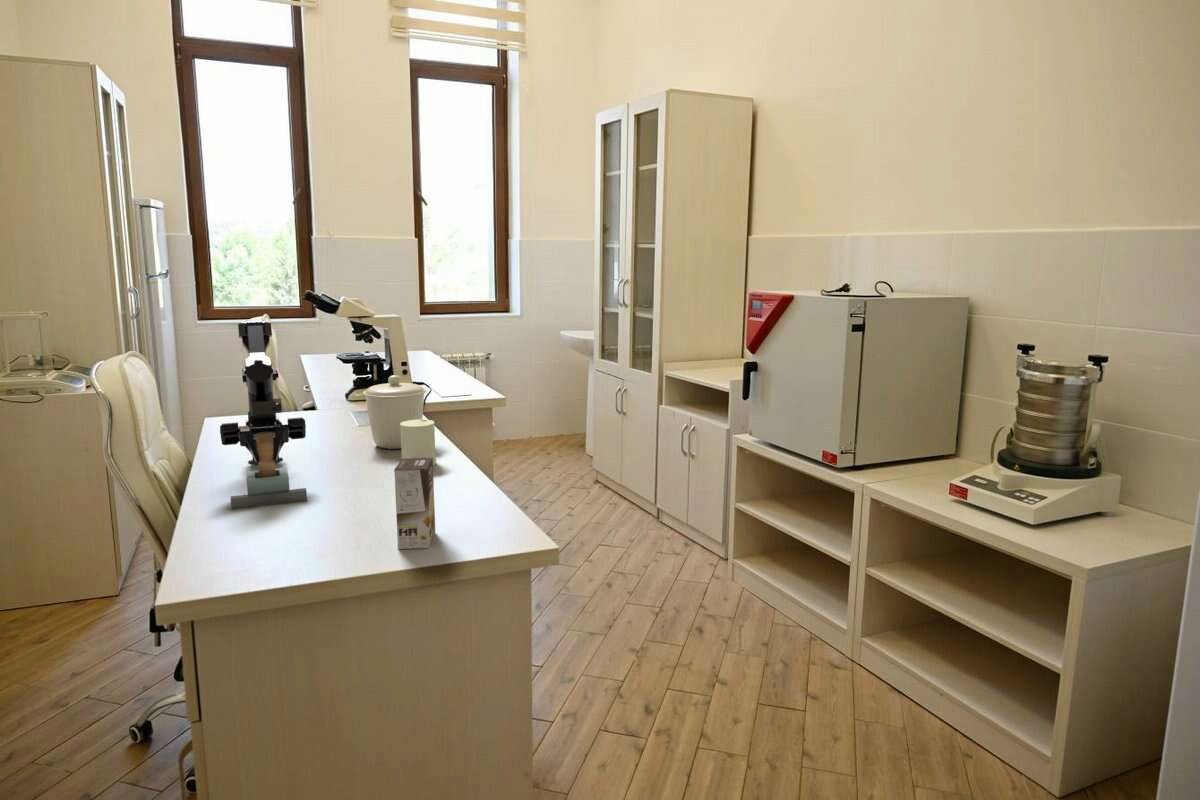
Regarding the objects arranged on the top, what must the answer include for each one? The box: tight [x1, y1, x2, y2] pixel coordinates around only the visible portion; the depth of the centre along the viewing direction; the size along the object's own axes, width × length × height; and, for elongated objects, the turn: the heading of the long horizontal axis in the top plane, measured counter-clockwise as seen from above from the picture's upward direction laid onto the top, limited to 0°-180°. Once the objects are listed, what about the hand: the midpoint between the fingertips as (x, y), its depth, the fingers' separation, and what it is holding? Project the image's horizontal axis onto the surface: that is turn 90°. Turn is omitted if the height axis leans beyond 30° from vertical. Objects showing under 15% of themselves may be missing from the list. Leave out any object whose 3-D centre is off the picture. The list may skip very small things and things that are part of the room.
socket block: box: [246, 467, 291, 495], centre depth 189 cm, size 9×9×5 cm
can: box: [400, 418, 437, 467], centre depth 215 cm, size 9×9×12 cm
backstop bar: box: [230, 487, 308, 510], centre depth 182 cm, size 2×16×2 cm, turn 114°
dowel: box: [256, 432, 276, 478], centre depth 188 cm, size 4×4×13 cm
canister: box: [362, 374, 427, 450], centre depth 236 cm, size 18×18×21 cm
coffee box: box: [393, 458, 436, 550], centre depth 158 cm, size 9×6×16 cm
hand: (266, 461), depth 187 cm, fingers closed on dowel, 4 cm apart
